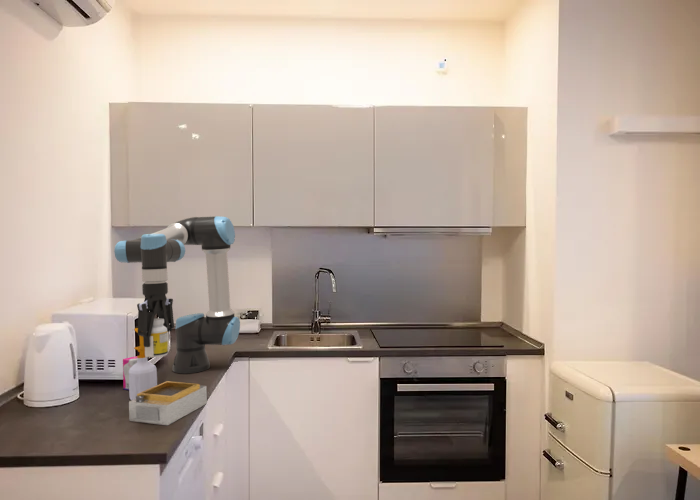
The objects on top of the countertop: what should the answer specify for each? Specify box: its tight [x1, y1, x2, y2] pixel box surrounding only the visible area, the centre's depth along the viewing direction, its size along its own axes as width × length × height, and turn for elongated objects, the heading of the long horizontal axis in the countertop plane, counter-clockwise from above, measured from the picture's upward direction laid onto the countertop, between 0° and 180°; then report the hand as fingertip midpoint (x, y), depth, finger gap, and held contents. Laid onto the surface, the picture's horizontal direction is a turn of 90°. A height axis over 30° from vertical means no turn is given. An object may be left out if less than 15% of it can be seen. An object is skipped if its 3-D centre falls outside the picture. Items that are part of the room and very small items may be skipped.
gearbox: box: [128, 380, 208, 426], centre depth 160 cm, size 20×14×8 cm
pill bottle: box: [151, 317, 169, 358], centre depth 159 cm, size 6×6×12 cm
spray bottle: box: [128, 327, 158, 401], centre depth 175 cm, size 9×9×25 cm
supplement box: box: [122, 355, 138, 391], centre depth 186 cm, size 6×6×12 cm
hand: (157, 354), depth 159 cm, fingers closed on pill bottle, 6 cm apart
